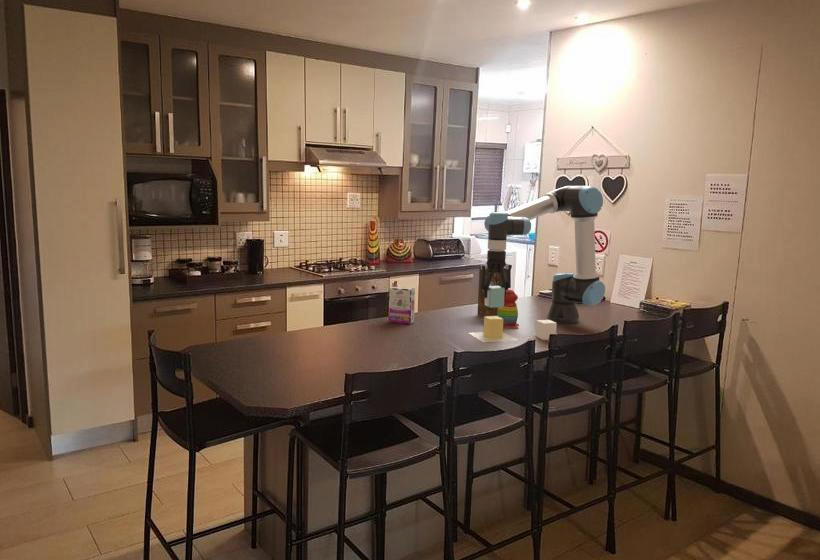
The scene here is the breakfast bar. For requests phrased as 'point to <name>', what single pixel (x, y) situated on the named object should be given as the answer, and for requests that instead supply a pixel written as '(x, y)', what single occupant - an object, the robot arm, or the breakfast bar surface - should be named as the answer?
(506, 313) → the stacking bear
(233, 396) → the breakfast bar surface
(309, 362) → the breakfast bar surface
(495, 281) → the book
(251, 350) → the breakfast bar surface
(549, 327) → the brick
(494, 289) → the brick
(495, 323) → the brick base
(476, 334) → the build plate
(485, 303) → the robot arm
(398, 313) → the candy bar box
